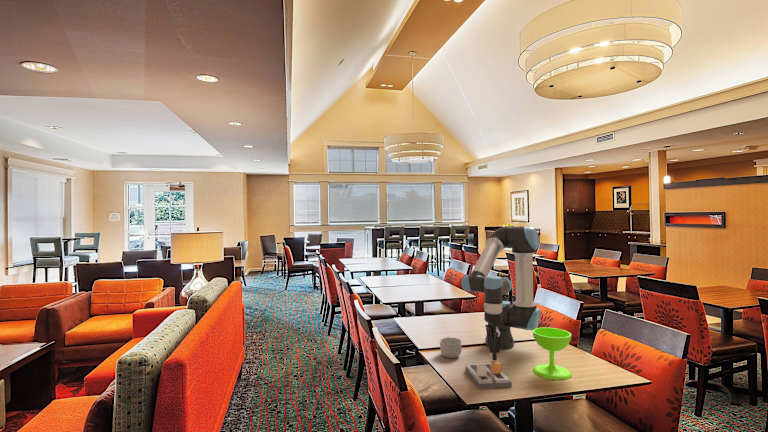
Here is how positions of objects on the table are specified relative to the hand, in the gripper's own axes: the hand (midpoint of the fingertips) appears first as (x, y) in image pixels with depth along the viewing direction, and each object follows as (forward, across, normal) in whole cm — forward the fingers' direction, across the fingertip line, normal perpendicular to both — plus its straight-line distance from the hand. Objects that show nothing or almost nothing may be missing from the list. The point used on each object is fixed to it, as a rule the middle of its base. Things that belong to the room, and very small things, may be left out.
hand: (493, 366), depth 169 cm
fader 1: (+3, +4, -7) cm, 9 cm away
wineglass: (+5, -3, +28) cm, 29 cm away
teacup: (+5, -30, -11) cm, 32 cm away
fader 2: (+3, +2, 0) cm, 4 cm away
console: (+5, 0, -3) cm, 6 cm away
